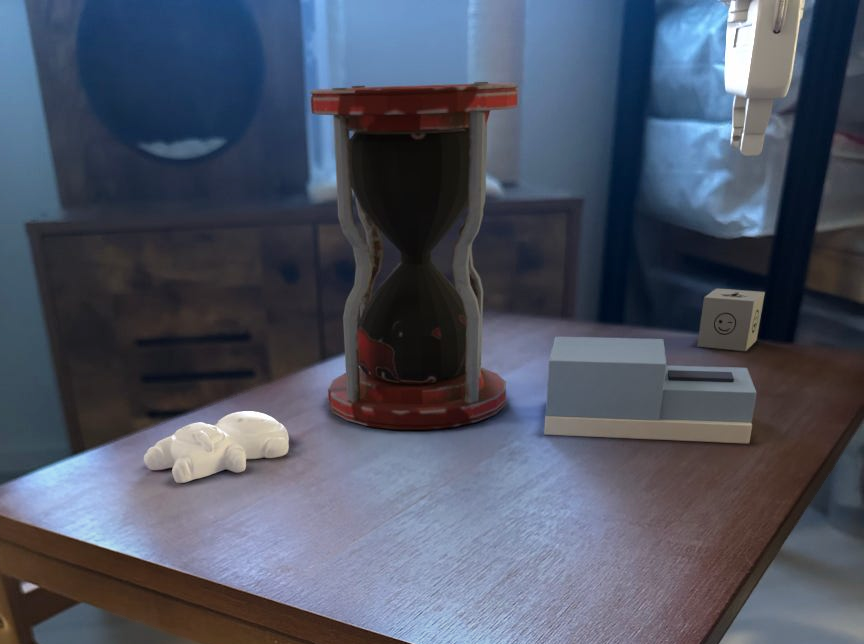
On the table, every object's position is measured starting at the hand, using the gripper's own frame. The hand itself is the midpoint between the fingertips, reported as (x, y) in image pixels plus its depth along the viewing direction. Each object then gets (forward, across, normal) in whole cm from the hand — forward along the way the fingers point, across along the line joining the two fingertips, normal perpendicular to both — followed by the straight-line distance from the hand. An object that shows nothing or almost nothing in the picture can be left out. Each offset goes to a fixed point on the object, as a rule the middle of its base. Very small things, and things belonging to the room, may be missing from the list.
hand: (744, 151), depth 91 cm
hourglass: (+19, -24, +28) cm, 41 cm away
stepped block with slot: (+18, -27, +8) cm, 33 cm away
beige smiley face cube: (+19, +1, -1) cm, 19 cm away
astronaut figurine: (+19, -40, +41) cm, 60 cm away
